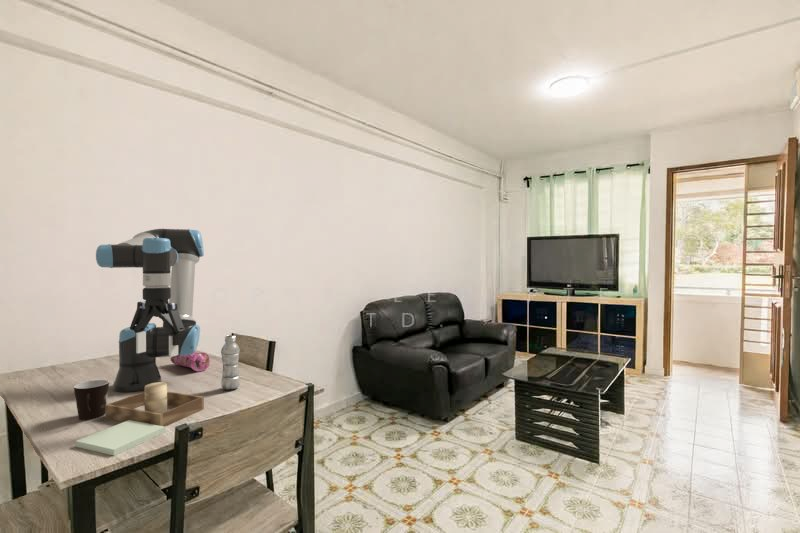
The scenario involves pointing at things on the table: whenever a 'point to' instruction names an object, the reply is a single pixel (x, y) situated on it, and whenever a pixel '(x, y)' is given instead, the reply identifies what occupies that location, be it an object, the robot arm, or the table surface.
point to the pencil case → (193, 361)
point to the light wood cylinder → (156, 397)
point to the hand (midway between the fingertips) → (157, 354)
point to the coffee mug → (91, 399)
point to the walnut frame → (126, 411)
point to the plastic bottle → (230, 363)
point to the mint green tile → (120, 437)
